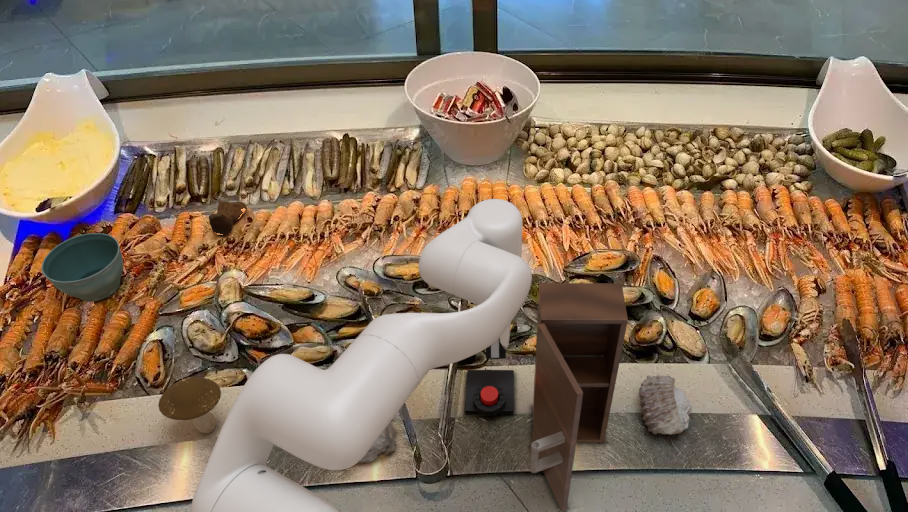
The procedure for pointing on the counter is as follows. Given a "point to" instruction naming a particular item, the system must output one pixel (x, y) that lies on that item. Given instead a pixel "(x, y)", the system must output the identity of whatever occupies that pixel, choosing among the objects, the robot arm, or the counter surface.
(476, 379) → the control box
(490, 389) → the button
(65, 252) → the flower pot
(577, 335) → the cupboard
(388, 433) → the stone
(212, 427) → the mushroom
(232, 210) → the sculpture
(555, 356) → the door
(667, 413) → the seashell
